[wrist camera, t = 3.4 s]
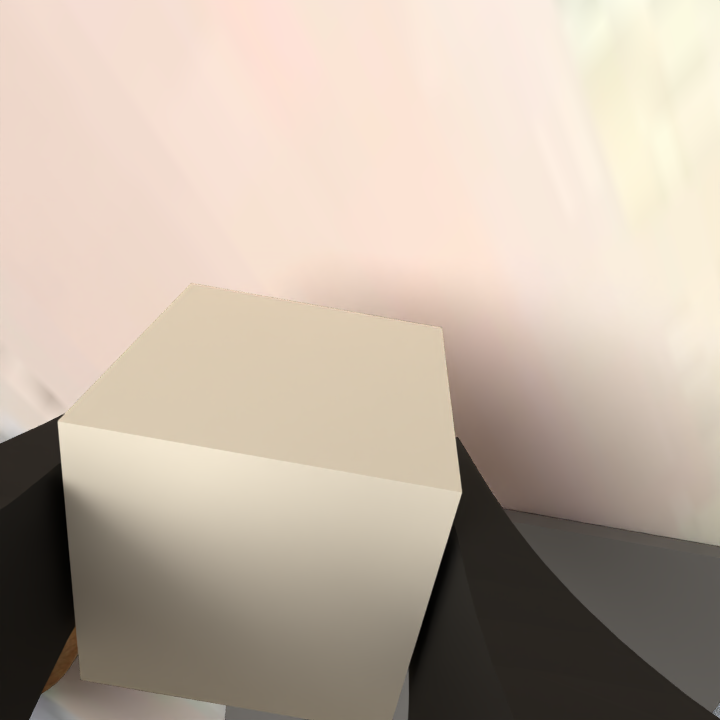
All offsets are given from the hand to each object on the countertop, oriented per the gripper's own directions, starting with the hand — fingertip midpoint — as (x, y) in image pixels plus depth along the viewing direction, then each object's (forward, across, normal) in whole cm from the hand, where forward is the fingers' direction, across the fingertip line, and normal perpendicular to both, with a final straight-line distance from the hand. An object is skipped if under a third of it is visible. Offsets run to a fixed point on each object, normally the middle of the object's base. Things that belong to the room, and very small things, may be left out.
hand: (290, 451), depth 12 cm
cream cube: (+2, 0, 0) cm, 2 cm away
